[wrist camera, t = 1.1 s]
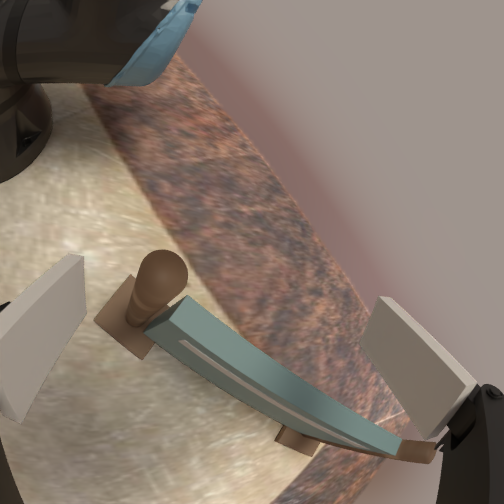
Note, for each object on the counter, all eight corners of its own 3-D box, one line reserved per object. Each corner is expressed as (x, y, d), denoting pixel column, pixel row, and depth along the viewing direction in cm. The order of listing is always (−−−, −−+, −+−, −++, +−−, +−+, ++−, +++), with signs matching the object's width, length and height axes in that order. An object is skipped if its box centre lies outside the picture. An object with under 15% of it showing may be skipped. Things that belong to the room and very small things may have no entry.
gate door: (142, 333, 25) (168, 320, 13) (152, 319, 26) (187, 293, 14) (298, 432, 28) (394, 456, 17) (305, 420, 29) (402, 438, 17)
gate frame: (94, 320, 24) (60, 279, 9) (130, 276, 27) (156, 180, 12) (308, 455, 29) (429, 487, 14) (328, 416, 32) (452, 428, 17)
